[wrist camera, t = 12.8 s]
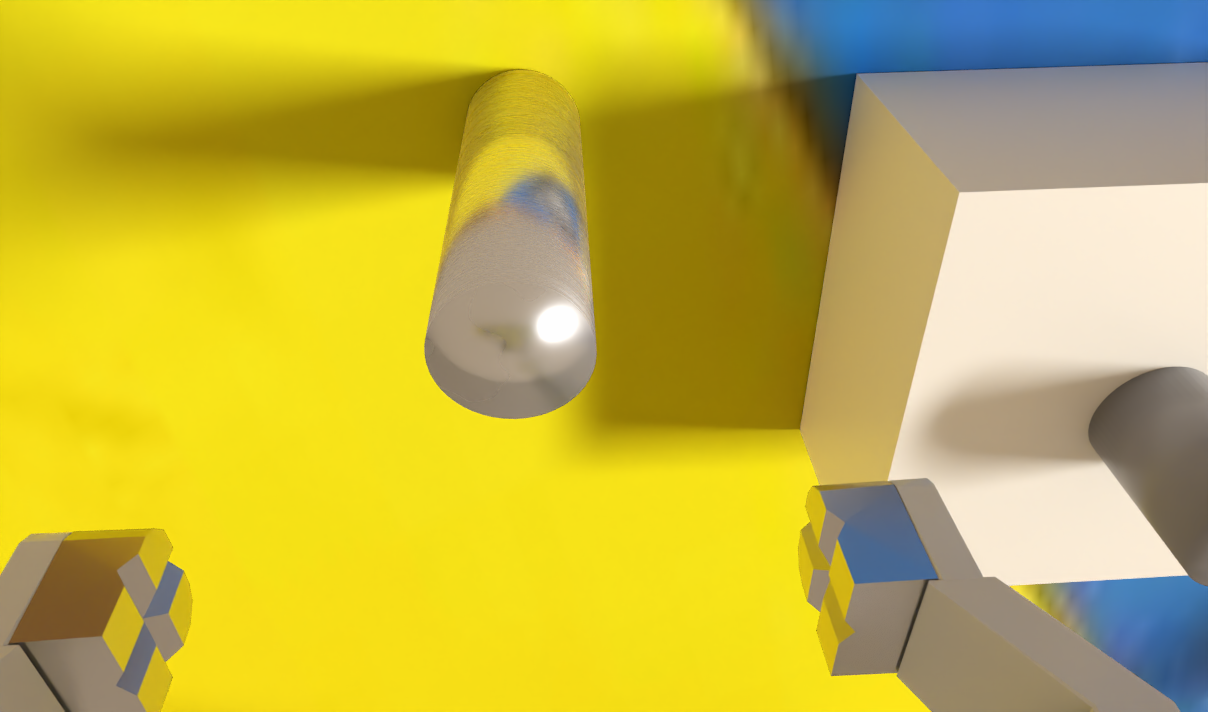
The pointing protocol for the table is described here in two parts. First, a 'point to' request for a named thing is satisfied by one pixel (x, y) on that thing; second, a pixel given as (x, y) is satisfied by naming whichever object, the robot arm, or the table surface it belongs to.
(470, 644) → the table surface
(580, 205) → the steel pin
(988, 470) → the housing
